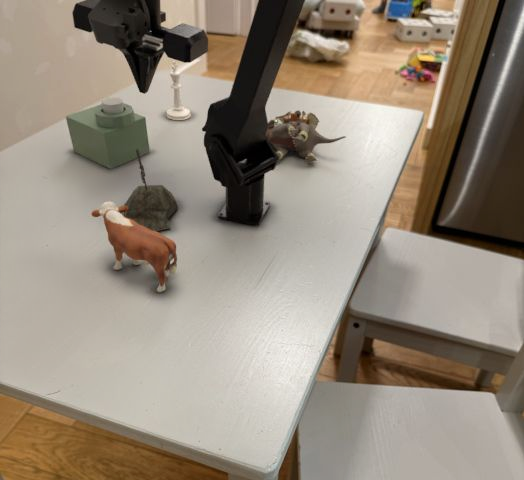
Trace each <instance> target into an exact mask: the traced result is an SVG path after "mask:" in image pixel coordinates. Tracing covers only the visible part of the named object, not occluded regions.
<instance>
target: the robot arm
mask: <svg viewBox="0 0 524 480" xmlns="http://www.w3.org/2000/svg"><path fill="white" fill-rule="evenodd" d="M305 2H306V0H258V1H257V4H256V6H255V10H254V13H253V16H252V20H251V24H250V27H249V30H248V34H247V37H246V40H245V43H244V47H243V50H242V54H241V56H240V60H239V64H238V67H237V69H236V70H237V71H236V73H235V77H234V80H233V83H232V87H231V90H230V93H229V95H228V96H227V97H225V98H222V99H220V100H217V101H215V102H212V103H210V104H209V106H208V108H207V115H206V121H205V124H204V126H203V127H202V128H201V131H202V132H204V135H203V147H204V148H205V153H206V156H207V159H208V163H209V167H210V170H211V173H212V177H213V179H214V180H215V181H216V182H219V184H220V185H221V186H222V187H223V188H225V204H224V206H223V207H222V208H221V209H220V211H219V212H218V213H217V217H218V218H219V219H220V220H226V221H230V222H234V223H240V224H246V225H250V226H255V227H257V226H259V225H260V224H261V223H262V220H263V219H264V217H265V216H266V215H267V212H268V211H269V209H270V208H271V203H270V202H267V201H264V200H265V199H264V197H265V195H264V194H265V174H267V173H269V172H271V171H274V170H275V169H276V167H277V166H278V165H277V164H278V162H279V160H280V159H279V158H278V156H277V154H276V152H277V151H276V150H275V148H274V146H272V145H271V144H270V142H269V140H268V139H267V137H266V132H267V127H268V122H269V121H268V116H267V111H266V106H267V103H268V101H269V98H270V95H271V93H272V90H273V87H274V84H275V82H276V79H277V76H278V73H279V71H280V69H281V66H282V63H283V61H284V58H285V55H286V53H287V50H288V46H289V44H290V42H291V39H292V37H293V34H294V31H295V29H296V26H297V23H298V20H299V18H300V15H301V12H302V11H303V8H304V5H305ZM71 13H72V14H71V16H72V21H73V28H74V29H78V30H81V31H84V32H87V33H93V35H94V38H95V41H96V42H97V44H98V43H99V44H101V45H103V44H105V45H108V46H111V47H113V48H115V50H116V49H117V50H119V51H120V52H121V53H122V54H123V56H124V58H125V60H126V62H127V64H128V66H129V69H130V71H131V74H132V76H133V79H134V81H135V84H136V87H137V89H138V91H139V93H141V94H147V93H148V92H149V90H150V87H151V84H152V81H153V79H154V76H155V73H156V70H157V69H158V66H159V64H160V62H161V59H162V58H163V56H164V54H165V55H166V57H167V58H169V59H171V60H174V61H179V62H181V63H187V64H188V63H192V62H193V61H195V60H197V59H198V58H200V57H201V56H203V55H204V54H207V53H208V52H209V37H208V35H207V33H206V31H205V29H203V28H199V27H197V26H194V25H190V24H186V23H185V22H184V23H183V22H181V23H179V24H177V25H176V26H174V27H171V28H169V27H166V26H163V25H162V24H163V23H164V22H166V21H167V14H166V13H167V12H165V11H162V9H161V0H82V1H79V2H76V3H75V4H74V6H73V9H72V12H71Z"/></svg>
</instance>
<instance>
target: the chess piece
mask: <svg viewBox="0 0 524 480" xmlns="http://www.w3.org/2000/svg"><path fill="white" fill-rule="evenodd" d="M177 68H178V63H177V60H173V61H172V65H171V70H172V71H170V72H169V76H170V77H171V81H172V84H170V88H171V89H173V106H172V107H171V108H169V109H168V110H166V117H167V119H170V120H172V121H185V120H187V119H189V118H191V116H192V115H191V111H190V109H188V108H186V107H184V106H183V104H182V103H183V102H182V99H181V94H180V89H181V88H182V84H181V83H179V82H180V77H181V72H180V71H179V70H177Z"/></svg>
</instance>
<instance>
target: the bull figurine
mask: <svg viewBox="0 0 524 480" xmlns="http://www.w3.org/2000/svg"><path fill="white" fill-rule="evenodd" d="M126 211H128V207H127V206H124V205H120V206H118V207H117V205H116V204H115V203H114V202H113V201H105V202H103V203H102V205H101V206H100V209H94V210H92V211H91V216H92V217H93V218H99V217H100V216H101V217H102V218H103V224H104V227H105V230H106V232H107V239H108V240H107V241H108V242H109V244H110V245H111V246H112V247H113V251H114V259H115V264H114V265H113V270H114V271H119V270H120V269H121V270H122V269H123V264H122V260H123V259H124V258H123V255H124V254H125V255H126V256H127V257H128V258H130V259H131V260H133V261H132V264H133V266H138V265H141V264H142V263H145V264H146V265H149V264H150V266H151V267H152V268H153V270H154V271H155V274H156V275H157V278H158V281H159V284H158V286H157V288H156V292H157V293H162V292H164V291H165V290H166V281H167V279H168V276H169V275H171V276H174V275H175V274H176V271H177V269H178V268H177V267H178V264H177V261H178V256H177V244H176V243H175V241H174V240H173V239H171V238H169V237H167V236H165V235H163V233H162V234H161V232H160V231H152V230H150V229H148V228H146V227H144V226H142V225H139V224H138V223H136V222H135V221H134V220H132V219H129V218H126V217H124V212H126ZM122 213H123V214H122ZM172 260H173V261H172ZM171 261H172V263H171Z"/></svg>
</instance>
